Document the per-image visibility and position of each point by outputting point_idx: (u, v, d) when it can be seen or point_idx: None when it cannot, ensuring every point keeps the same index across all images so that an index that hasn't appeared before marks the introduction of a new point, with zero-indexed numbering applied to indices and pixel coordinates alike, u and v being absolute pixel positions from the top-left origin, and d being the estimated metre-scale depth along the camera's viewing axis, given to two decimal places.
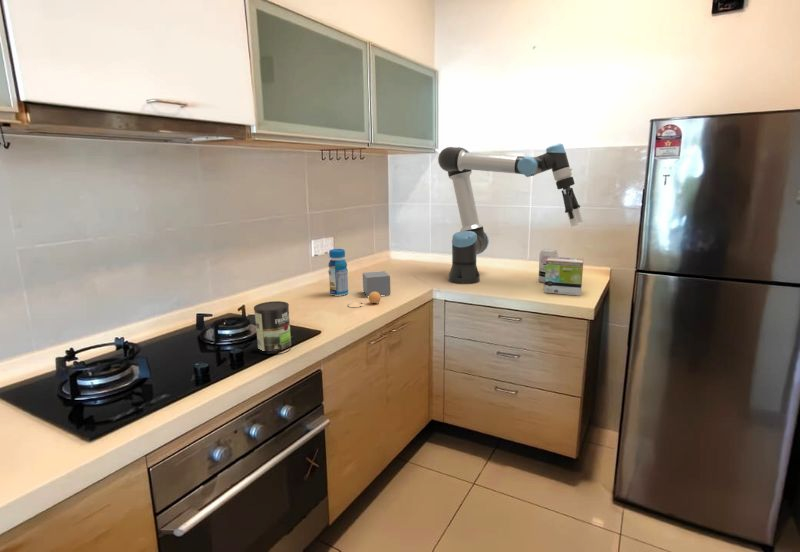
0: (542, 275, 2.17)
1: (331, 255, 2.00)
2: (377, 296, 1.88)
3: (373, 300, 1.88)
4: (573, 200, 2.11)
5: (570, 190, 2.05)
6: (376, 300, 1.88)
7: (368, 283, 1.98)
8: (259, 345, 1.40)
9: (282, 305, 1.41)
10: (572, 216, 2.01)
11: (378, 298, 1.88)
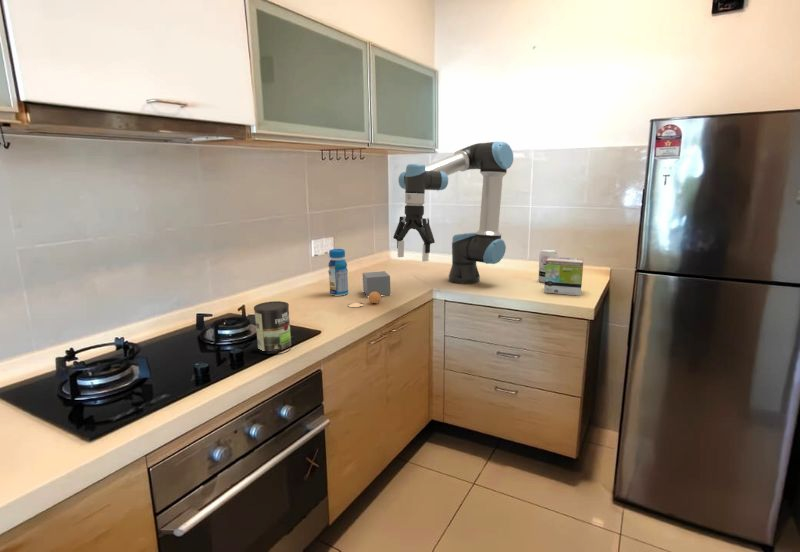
0: (542, 275, 2.17)
1: (331, 255, 2.00)
2: (377, 296, 1.88)
3: (373, 300, 1.88)
4: None
5: (408, 220, 1.80)
6: (376, 300, 1.88)
7: (368, 283, 1.98)
8: (259, 345, 1.40)
9: (282, 305, 1.41)
10: (397, 246, 1.88)
11: (378, 298, 1.88)
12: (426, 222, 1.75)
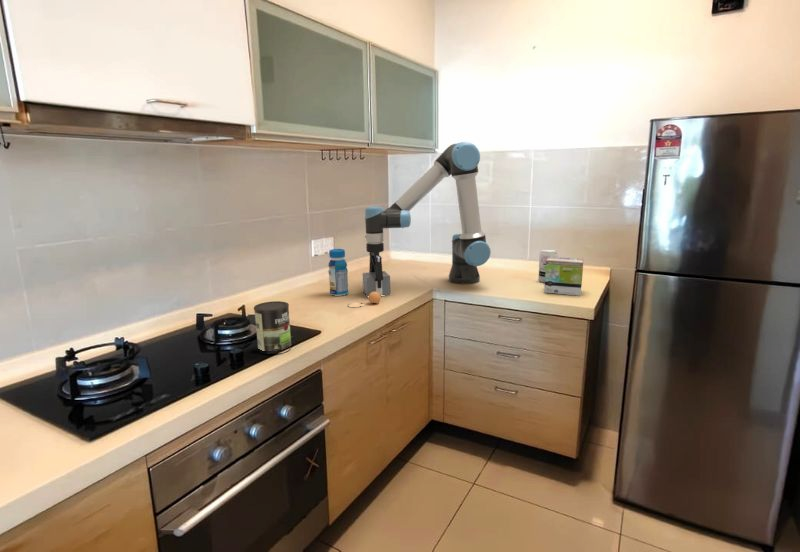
0: (542, 275, 2.17)
1: (331, 255, 2.00)
2: (377, 296, 1.88)
3: (373, 300, 1.88)
4: None
5: (371, 255, 2.03)
6: (376, 300, 1.88)
7: (368, 283, 1.98)
8: (259, 345, 1.40)
9: (282, 305, 1.41)
10: None
11: (378, 298, 1.88)
12: (378, 261, 1.96)
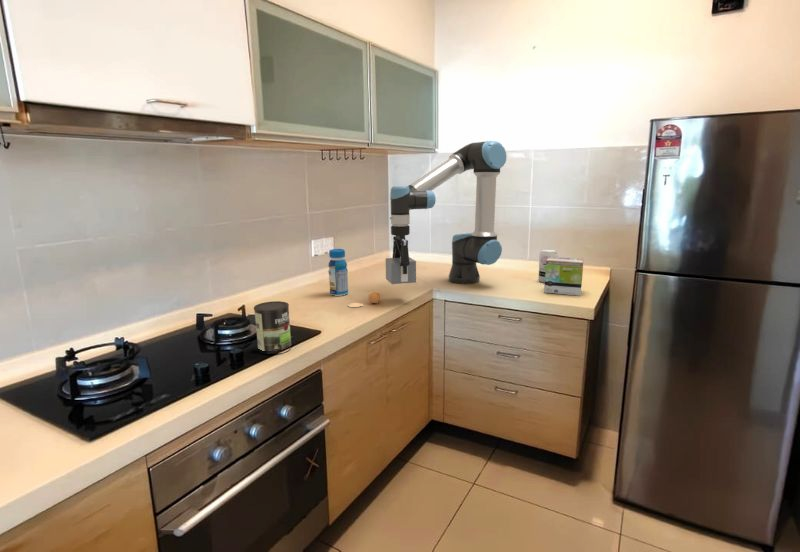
0: (542, 275, 2.17)
1: (331, 255, 2.00)
2: (377, 296, 1.88)
3: (373, 300, 1.88)
4: None
5: (395, 239, 1.89)
6: (376, 300, 1.88)
7: (393, 268, 1.84)
8: (259, 345, 1.40)
9: (282, 305, 1.41)
10: None
11: (378, 298, 1.88)
12: (404, 244, 1.81)
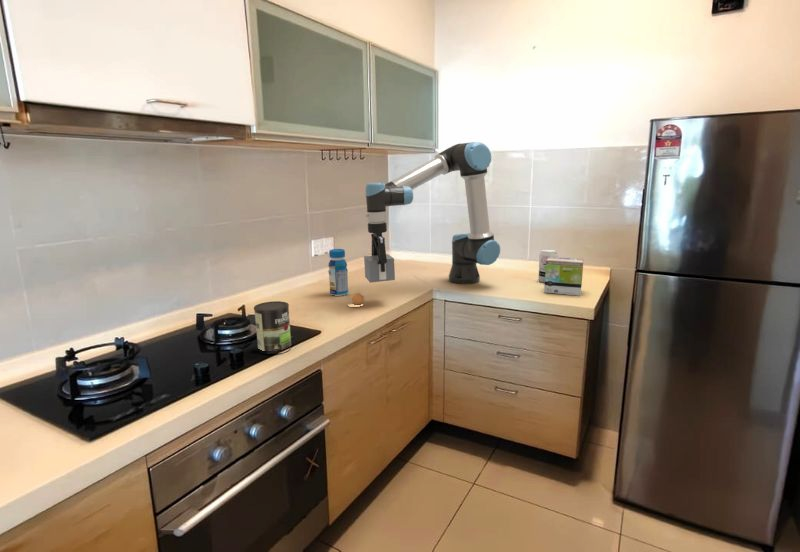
0: (542, 275, 2.17)
1: (331, 255, 2.00)
2: (356, 302, 1.86)
3: (361, 300, 1.86)
4: None
5: (373, 237, 1.86)
6: (358, 299, 1.86)
7: (370, 267, 1.82)
8: (259, 345, 1.40)
9: (282, 305, 1.41)
10: None
11: (356, 300, 1.86)
12: (380, 242, 1.79)
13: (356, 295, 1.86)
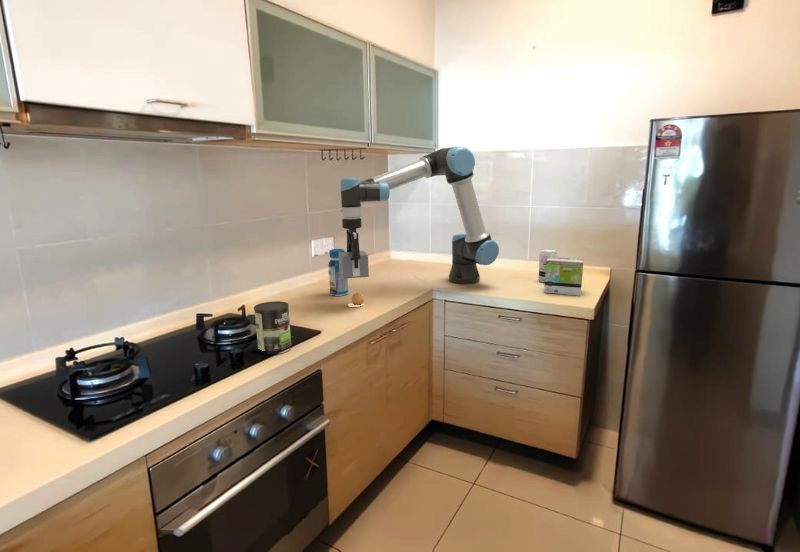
0: (542, 275, 2.17)
1: (331, 255, 2.00)
2: (356, 302, 1.86)
3: (361, 300, 1.86)
4: None
5: (347, 232, 1.83)
6: (358, 299, 1.86)
7: (343, 263, 1.78)
8: (259, 345, 1.40)
9: (282, 305, 1.41)
10: None
11: (356, 300, 1.86)
12: (354, 237, 1.76)
13: (356, 295, 1.86)
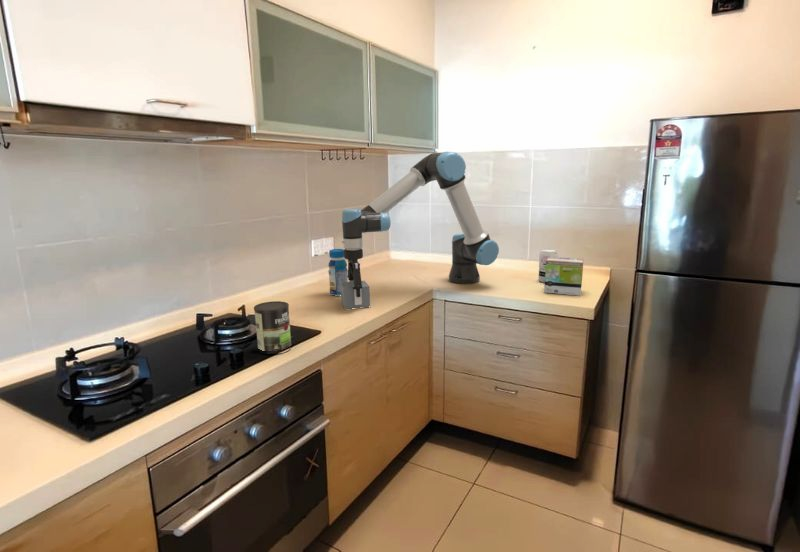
0: (542, 275, 2.17)
1: (331, 255, 2.00)
2: None
3: None
4: None
5: (349, 262, 1.86)
6: None
7: (345, 294, 1.81)
8: (259, 345, 1.40)
9: (282, 305, 1.41)
10: None
11: None
12: (355, 267, 1.78)
13: None
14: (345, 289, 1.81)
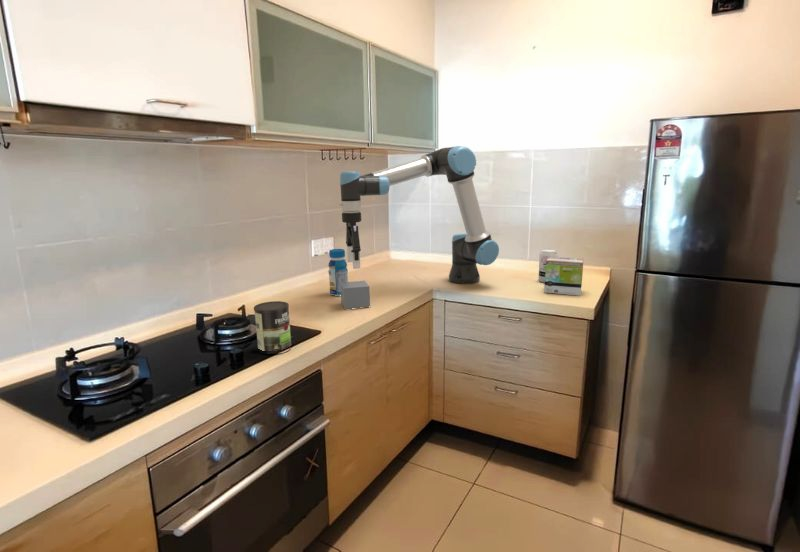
0: (542, 275, 2.17)
1: (331, 255, 2.00)
2: None
3: None
4: None
5: (347, 226, 1.83)
6: None
7: (345, 294, 1.81)
8: (259, 345, 1.40)
9: (282, 305, 1.41)
10: None
11: None
12: (354, 230, 1.75)
13: None
14: (345, 289, 1.81)
